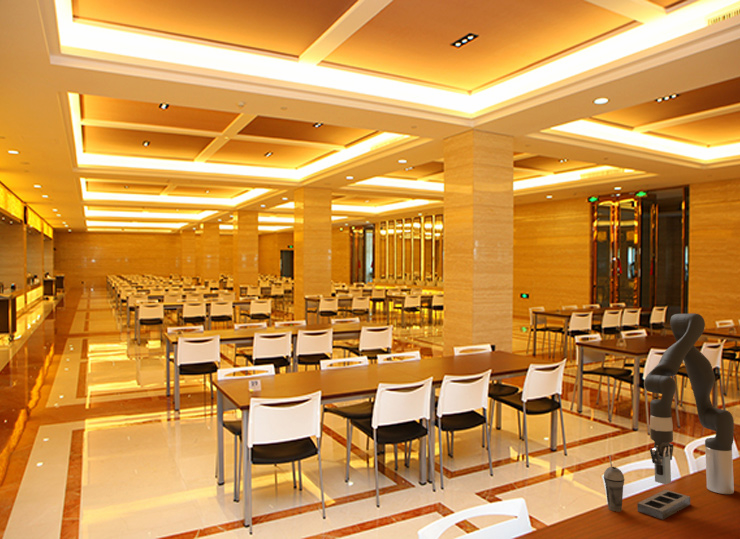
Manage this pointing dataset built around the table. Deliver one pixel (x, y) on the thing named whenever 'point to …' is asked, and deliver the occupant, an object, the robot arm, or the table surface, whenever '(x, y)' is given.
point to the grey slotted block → (663, 504)
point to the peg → (664, 471)
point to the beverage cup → (614, 487)
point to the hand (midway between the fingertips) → (662, 473)
